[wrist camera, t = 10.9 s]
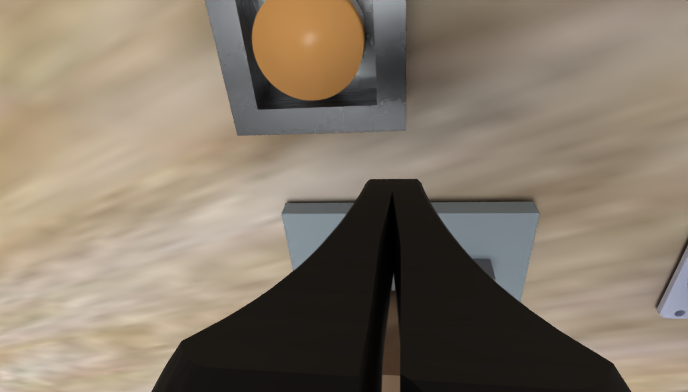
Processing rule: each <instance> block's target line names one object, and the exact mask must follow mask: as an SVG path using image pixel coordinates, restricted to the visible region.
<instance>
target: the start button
mask: <svg viewBox="0 0 688 392" xmlns="http://www.w3.org/2000/svg"><path fill="white" fill-rule="evenodd" d="M365 44H366V23H365V19H364V15H363V13H362V10H361V8H360V6H359V4H358V3H357V1H356V0H266V1H265V2H264V3H263V5H262V6H261V8H260V9H259V11H258V13H257V15H256V18H255V21H254V25H253V30H252V45H253V51H254V55H255V58H256V61H257V64H258V66H259V68H260V69H261V71H262V73H263V74H264V76H265V77H266V78H267V79H268V80H269V82H270V83H271V84H272V85H274V86H275V87H276V88H277V89H279V90H280V91H281V92H283V93H285V94H287V95H289V96H291V97H294V98H297V99H301V100H313V101H314V100H322V99H326V98H329V97H331V96H334V95H336V94H337V93H339V92H340V91H342V90H343V89H344V88H345V87H347V86H348V85H349V83H350V82H351V81H352V80H353V78H354V77H355V75H356V73H357V71H358V69H359V66H360V63H361V59H362V56H363V52H364V48H365Z"/></svg>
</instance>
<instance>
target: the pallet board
mask: <svg viewBox="0 0 688 392" xmlns="http://www.w3.org/2000/svg"><path fill="white" fill-rule="evenodd" d="M430 203H431V204H432V206H433V208H434V209H435V211H436V213H437V214H438V215H439V217H440V218H441V220H442V221H443V223H444V224H445V226H446V227H447V229H448V230H449V231H450V233H451V234H452V235H453V236H454V238H455V239H456V240H457V241H458V243H459V244H460V245H461V246H462V248H463V249H464V250H465V251H466V252H467V253H468V254H469V256H470V257H471V258H472V259H473V260H474V261H475V262H476V263H477V264H478V265H479V266H480V267H481V268H482V269H483V270H484V271H485V272H486V273H487V274H488V275H489V276H490V277H491V278H492V279H493V280H494V281H495V282H496V283H497V284H499V285H500V286H501V287H502V288H503V289H505V290H506V291H507V292H508V293H510V294H511V295H512V296H513V297H514V298H516V299H517V300H518V301H519V302H520V301H521V296H522V292H523V287H524V283H525V278H526V273H527V269H528V264H529V260H530V255H531V251H532V246H533V241H534V237H535V232H536V228H537V223H538V218H539V214H540V213H539V211H538V209H537V207H536V205H535V203H534V202H430ZM353 204H354V203H286V204H285V207H284V209H283V212H282V218H283V223H284V228H285V233H286V238H287V243H288V248H289V253H290V258H291V263H292V268H293V271H294V270H295V269H296V268H297V267H299V266H300V265H301V264H302V263H303V262H304V261H305V260H306V259H307V258H308V257H309V256H310V255H311V254H312V253H313V252H314V251H315V250H316V249H317V248H318V247H319V246H320V245H321V244H322V243H323V242H324V241H325V240H326V238H327V237H328V236H329V235H330V234H331V233H332V231H333V230H334V229H335V228H336V227H337V226H338V224H339V223H340V222H341V221H342V219H343V218H344V217H345V215H346V214H347V212H348V211H349V210H350V208H351V207H352V206H353ZM391 291H395V282H394V275H393V283H392V290H391Z"/></svg>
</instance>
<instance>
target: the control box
mask: <svg viewBox="0 0 688 392" xmlns="http://www.w3.org/2000/svg"><path fill="white" fill-rule="evenodd" d="M265 1H266V0H205V3H206V8H207V12H208V16H209V20H210V24H211V28H212V32H213V36H214V41H215V45H216V49H217V53H218V57H219V61H220V65H221V69H222V74H223V78H224V82H225V86H226V90H227V94H228V98H229V102H230V107H231V111H232V115H233V119H234V123H235V127H236V131H237V135H238V136H241V135H275V134H310V133H344V132H378V131H406V0H356V1H357V3H358V4H359V6H360V8H361V10H362V13H363V15H364V19H365V23H366V44H365V48H364V52H363V56H362V59H361V63H360V66H359V69H358V71H357V73H356V75H355V77H354V78H353V80H352V81H351V82H350V83H349V85H348V86H347V87H345V88H344V89H343V90H342V91H340V92H339V93H337V94H336V95H334V96H331V97H329V98H326V99H322V100H314V101H313V100H301V99H297V98H294V97H291V96H289V95H287V94H285V93H283V92H281V91H280V90H279V89H277V88H276V87H275V86H274V85H272V84H271V83H270V82H269V80H268V79H267V78H266V77H265V76H264V74H263V73H262V71H261V69H260V68H259V66H258V64H257V61H256V58H255V55H254V51H253V45H252V30H253V25H254V21H255V18H256V15H257V13H258V11H259V9H260V8H261V6H262V5H263V3H264V2H265Z"/></svg>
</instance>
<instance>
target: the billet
mask: <svg viewBox="0 0 688 392" xmlns="http://www.w3.org/2000/svg"><path fill="white" fill-rule="evenodd" d="M382 392H400V337H399V326H398V315H397V304H396V293H395V291H391V298H390V306H389V314H388V321H387V329H386V337H385V344H384V355H383V374H382Z"/></svg>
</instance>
